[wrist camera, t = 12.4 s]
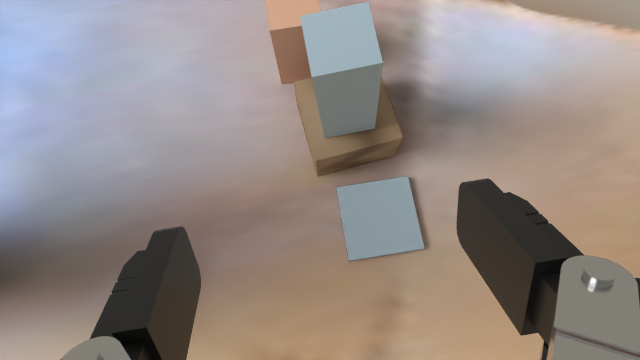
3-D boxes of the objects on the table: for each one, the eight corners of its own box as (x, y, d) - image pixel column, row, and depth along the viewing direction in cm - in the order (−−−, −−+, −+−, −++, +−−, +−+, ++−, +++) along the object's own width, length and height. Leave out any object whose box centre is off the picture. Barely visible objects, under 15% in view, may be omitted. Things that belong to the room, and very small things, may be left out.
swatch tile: (348, 261, 37) (349, 260, 37) (336, 189, 39) (336, 187, 39) (422, 249, 37) (424, 248, 37) (406, 177, 39) (407, 176, 39)
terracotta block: (281, 84, 43) (269, 30, 34) (276, 47, 44) (263, -14, 35) (323, 77, 43) (322, 22, 34) (317, 41, 44) (314, -21, 35)
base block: (317, 176, 40) (315, 160, 35) (297, 106, 42) (293, 81, 37) (394, 156, 40) (403, 137, 35) (370, 87, 42) (376, 60, 38)
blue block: (324, 138, 36) (311, 77, 25) (316, 93, 37) (300, 16, 26) (374, 128, 35) (382, 62, 25) (364, 83, 37) (368, 1, 26)
